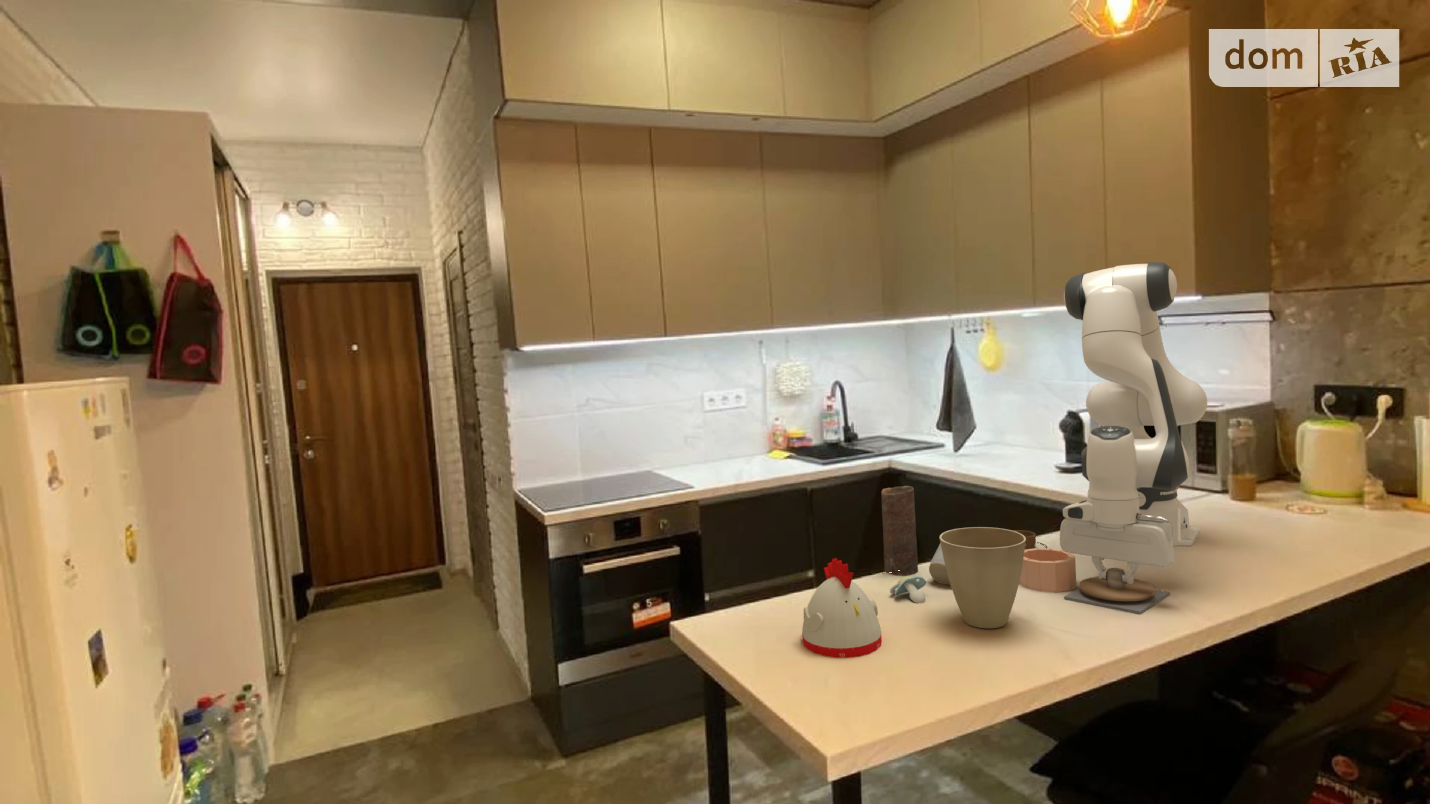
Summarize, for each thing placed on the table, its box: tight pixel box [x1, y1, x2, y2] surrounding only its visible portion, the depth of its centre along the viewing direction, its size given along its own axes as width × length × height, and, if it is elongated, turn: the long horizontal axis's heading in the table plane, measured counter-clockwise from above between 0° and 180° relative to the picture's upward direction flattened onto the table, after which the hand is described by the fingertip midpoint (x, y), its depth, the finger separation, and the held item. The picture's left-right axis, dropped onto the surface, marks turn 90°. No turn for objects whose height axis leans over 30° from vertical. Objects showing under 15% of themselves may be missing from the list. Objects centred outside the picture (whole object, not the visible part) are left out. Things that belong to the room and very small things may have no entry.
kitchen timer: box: [801, 557, 883, 659], centre depth 137 cm, size 14×14×15 cm
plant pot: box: [939, 526, 1026, 629], centre depth 141 cm, size 15×15×16 cm
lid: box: [1078, 567, 1156, 601], centre depth 150 cm, size 13×13×5 cm
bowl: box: [1019, 547, 1077, 593], centre depth 161 cm, size 11×11×6 cm
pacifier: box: [889, 575, 927, 604], centre depth 156 cm, size 7×6×6 cm
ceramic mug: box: [928, 543, 951, 586], centre depth 163 cm, size 11×8×8 cm
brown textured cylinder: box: [881, 485, 919, 577], centre depth 172 cm, size 8×7×20 cm
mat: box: [1063, 587, 1171, 615], centre depth 150 cm, size 14×14×1 cm
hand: (1116, 581), depth 150 cm, fingers closed on lid, 3 cm apart
